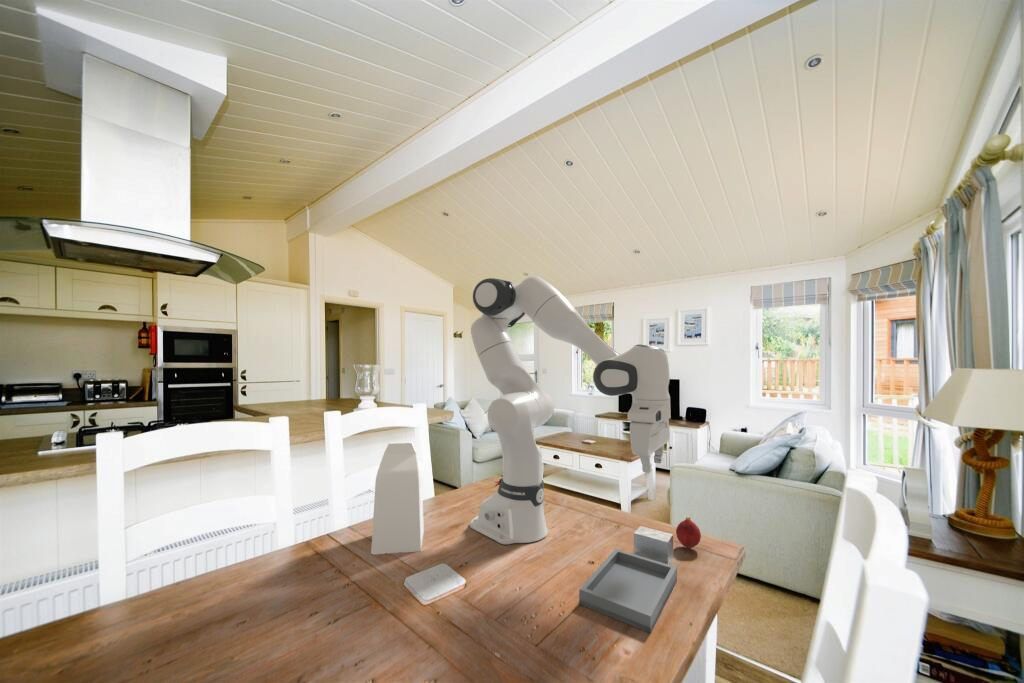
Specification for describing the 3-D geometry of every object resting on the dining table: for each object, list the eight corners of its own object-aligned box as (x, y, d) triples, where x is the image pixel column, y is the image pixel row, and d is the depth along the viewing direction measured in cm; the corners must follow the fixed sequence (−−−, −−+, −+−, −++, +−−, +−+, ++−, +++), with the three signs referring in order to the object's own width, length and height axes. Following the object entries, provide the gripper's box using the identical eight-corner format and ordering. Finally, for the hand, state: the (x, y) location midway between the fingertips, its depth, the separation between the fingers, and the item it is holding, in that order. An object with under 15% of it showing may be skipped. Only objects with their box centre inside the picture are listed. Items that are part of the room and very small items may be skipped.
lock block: (633, 557, 98) (633, 533, 98) (640, 549, 102) (640, 525, 102) (667, 568, 93) (667, 542, 93) (673, 559, 97) (673, 534, 97)
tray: (579, 604, 79) (579, 589, 80) (615, 561, 96) (615, 548, 96) (650, 633, 71) (650, 616, 72) (676, 580, 88) (676, 567, 88)
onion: (703, 555, 99) (703, 522, 99) (678, 552, 100) (678, 520, 100) (697, 544, 105) (697, 513, 105) (674, 542, 106) (674, 511, 106)
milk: (371, 554, 98) (372, 448, 99) (379, 533, 110) (380, 438, 110) (420, 551, 100) (421, 447, 101) (423, 530, 112) (424, 437, 112)
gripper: (650, 404, 108) (652, 456, 108) (624, 414, 92) (626, 475, 91) (675, 406, 105) (676, 459, 104) (652, 416, 88) (654, 480, 87)
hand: (652, 467), depth 97 cm, fingers open, 8 cm apart
